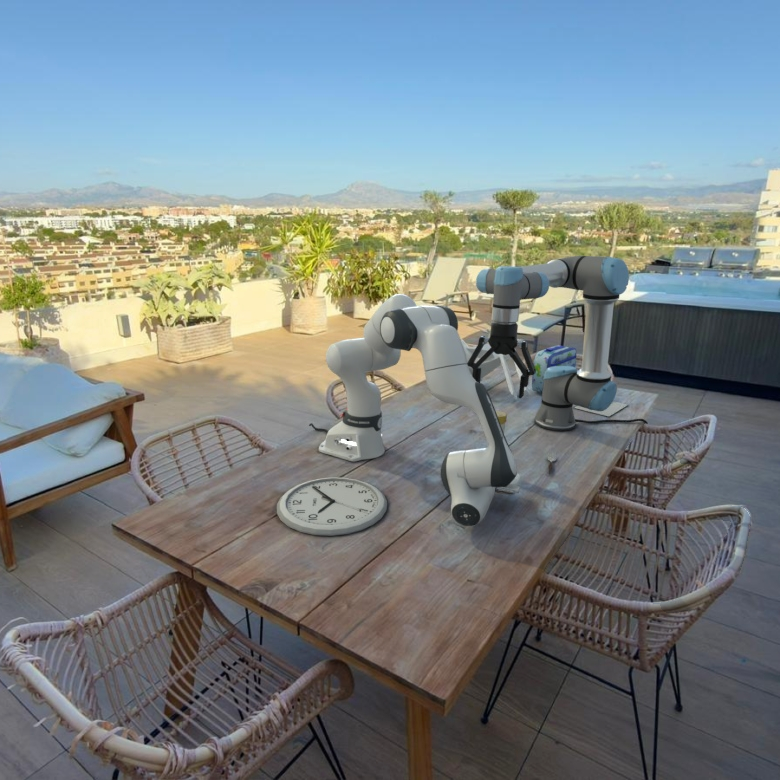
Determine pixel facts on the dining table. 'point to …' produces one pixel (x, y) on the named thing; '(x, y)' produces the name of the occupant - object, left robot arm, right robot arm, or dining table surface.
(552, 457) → the fork
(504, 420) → the lid
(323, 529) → the wall clock
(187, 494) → the dining table surface
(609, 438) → the dining table surface
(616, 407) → the invitation card
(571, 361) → the lunch box
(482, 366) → the white plastic object
